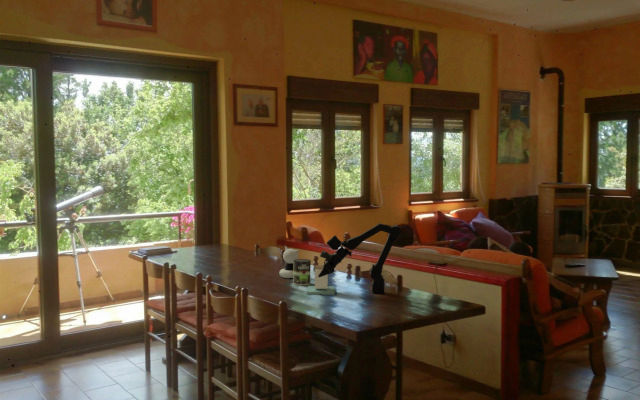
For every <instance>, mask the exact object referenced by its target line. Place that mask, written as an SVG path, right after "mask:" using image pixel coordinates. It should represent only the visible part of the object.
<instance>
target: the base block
mask: <svg viewBox="0 0 640 400" xmlns="http://www.w3.org/2000/svg"><path fill="white" fill-rule="evenodd" d="M316 294H322V295H323V296H324V295H325V296H330V295H331V296H335V286H334V285H333V286H331V285H329V286H328V285H327V289H315V285H307V291H306V295H316Z"/></svg>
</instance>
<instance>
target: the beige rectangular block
mask: <svg viewBox="0 0 640 400" xmlns="http://www.w3.org/2000/svg"><path fill="white" fill-rule="evenodd" d="M323 268H324V264H323V265H321V264H314V286H315V289H327V286H328V282H329V281H328V275H329V274H327V275H325V276H322V277H318V275H319V274H320V273H321V271H322V270H323Z"/></svg>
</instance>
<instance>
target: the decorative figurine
mask: <svg viewBox="0 0 640 400" xmlns="http://www.w3.org/2000/svg"><path fill="white" fill-rule="evenodd" d="M284 249H285V250H284V252H283V253H282V257H283V258H282V259H283V260H284V262H285V263H286V265H285V267H284V268H282V269H280V270H279V276H280V277H281V278H285V279H290V278H293V273H294V261H293V260H295V259H299V254H298V253H299V250H300V248H299V249H294V248H288V247H287V246H286V245H284Z"/></svg>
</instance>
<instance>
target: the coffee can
mask: <svg viewBox="0 0 640 400" xmlns="http://www.w3.org/2000/svg"><path fill="white" fill-rule="evenodd" d="M293 261H294V273H293V280H292V281H293V282H292V284H293V285H296V286H310V285H311V264H312V263H311V262H312V260H311V259H307V258H298V259H295V260H293Z"/></svg>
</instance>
